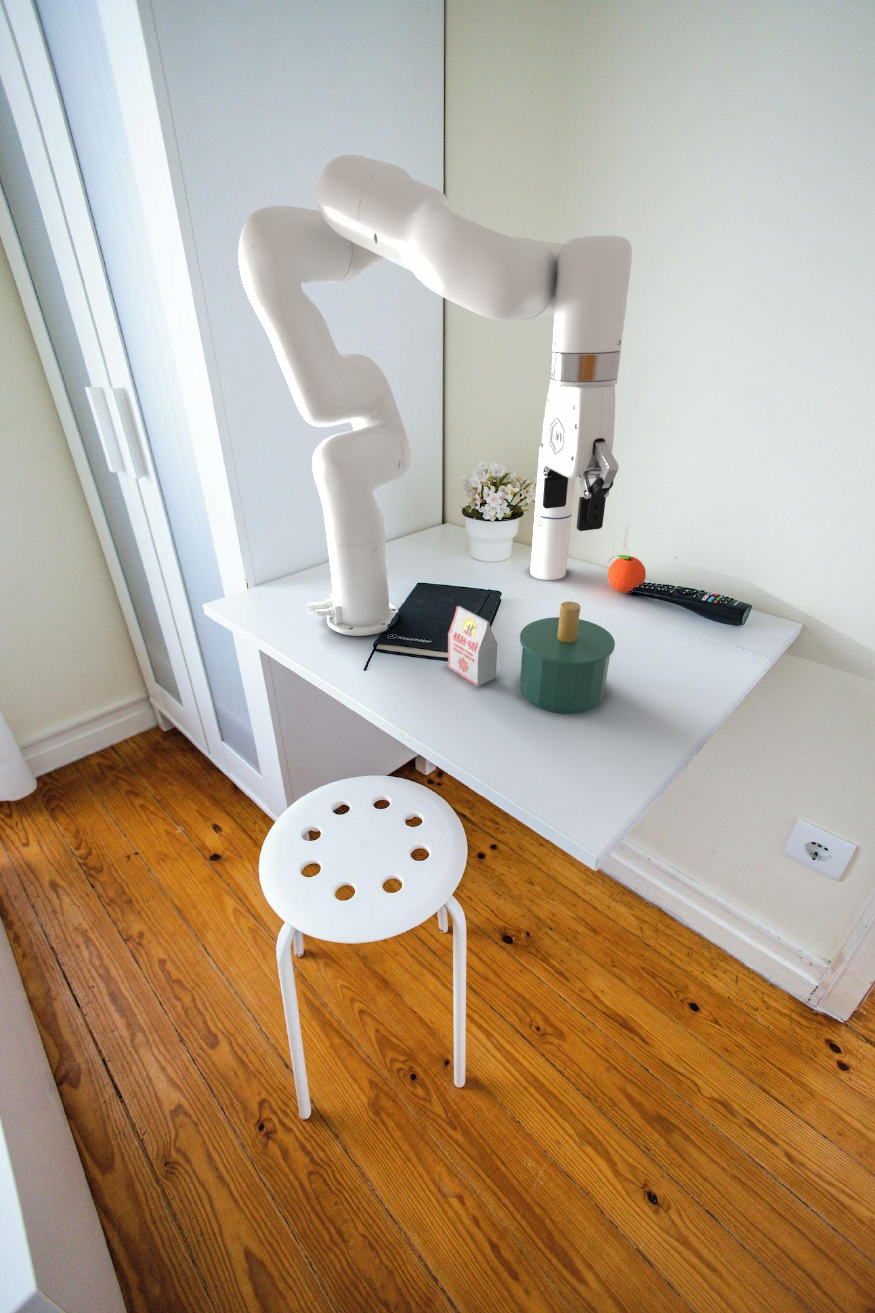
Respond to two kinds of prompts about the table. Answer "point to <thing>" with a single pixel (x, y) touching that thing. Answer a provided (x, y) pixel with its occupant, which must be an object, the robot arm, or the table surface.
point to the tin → (562, 684)
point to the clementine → (626, 573)
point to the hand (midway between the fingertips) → (570, 517)
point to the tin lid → (567, 639)
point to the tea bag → (472, 647)
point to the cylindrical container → (551, 533)
